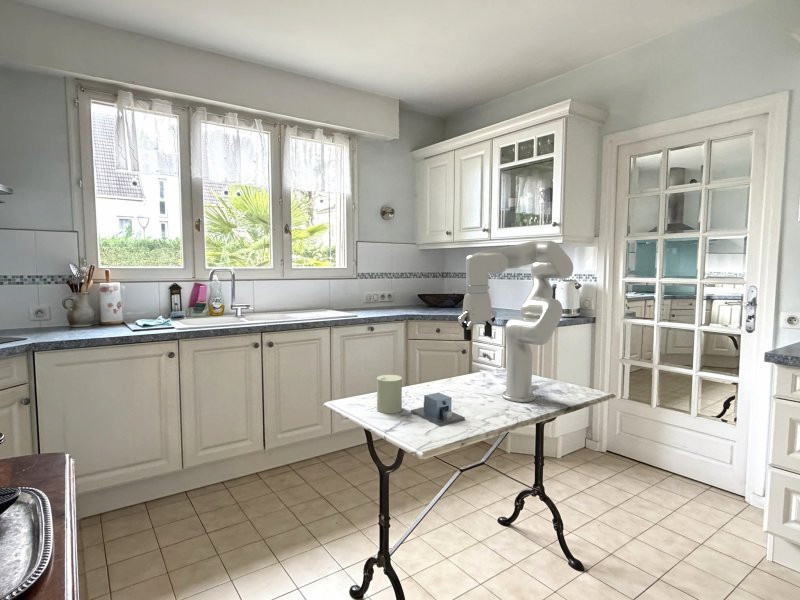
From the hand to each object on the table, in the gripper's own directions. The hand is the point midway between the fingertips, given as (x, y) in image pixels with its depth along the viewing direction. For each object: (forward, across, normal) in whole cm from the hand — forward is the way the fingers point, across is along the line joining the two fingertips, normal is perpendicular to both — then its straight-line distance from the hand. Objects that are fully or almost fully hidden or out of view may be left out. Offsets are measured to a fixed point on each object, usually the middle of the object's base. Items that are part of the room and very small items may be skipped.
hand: (478, 338), depth 158 cm
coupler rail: (+25, +17, -3) cm, 31 cm away
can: (+25, +27, -18) cm, 41 cm away
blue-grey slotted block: (+25, +16, -3) cm, 30 cm away
